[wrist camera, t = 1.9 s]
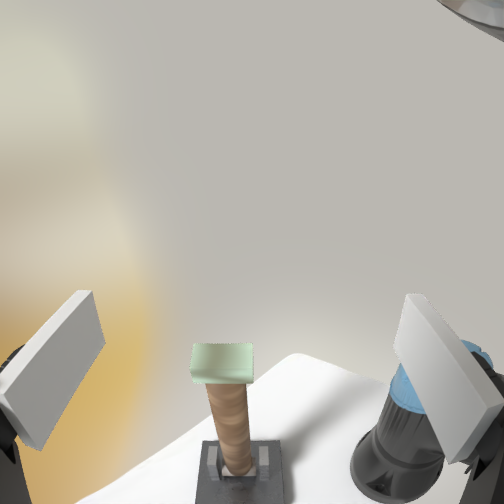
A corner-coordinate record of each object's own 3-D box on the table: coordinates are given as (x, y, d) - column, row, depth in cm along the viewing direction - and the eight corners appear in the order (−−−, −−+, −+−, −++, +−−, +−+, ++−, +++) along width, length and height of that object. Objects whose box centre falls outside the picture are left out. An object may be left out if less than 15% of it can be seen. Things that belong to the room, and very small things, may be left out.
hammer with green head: (257, 459, 39) (252, 339, 27) (257, 480, 36) (252, 372, 23) (223, 459, 39) (194, 340, 27) (222, 480, 36) (188, 371, 24)
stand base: (279, 446, 44) (280, 421, 41) (283, 510, 33) (286, 491, 30) (204, 446, 44) (197, 421, 41) (197, 509, 33) (188, 490, 30)
